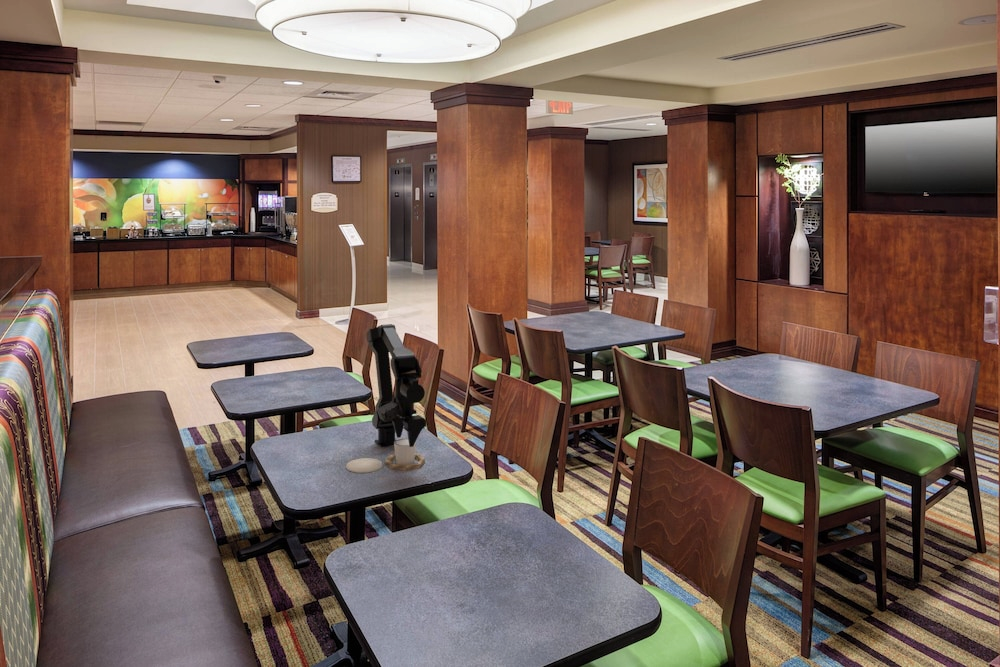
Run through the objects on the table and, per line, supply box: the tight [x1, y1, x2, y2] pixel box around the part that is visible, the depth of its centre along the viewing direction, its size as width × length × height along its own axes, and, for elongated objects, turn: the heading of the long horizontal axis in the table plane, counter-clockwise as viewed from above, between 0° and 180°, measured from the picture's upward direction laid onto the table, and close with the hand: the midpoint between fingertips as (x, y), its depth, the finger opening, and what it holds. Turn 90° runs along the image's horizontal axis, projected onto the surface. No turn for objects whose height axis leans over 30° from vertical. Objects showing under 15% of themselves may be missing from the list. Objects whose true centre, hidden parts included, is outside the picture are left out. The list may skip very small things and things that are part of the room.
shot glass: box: [393, 438, 417, 465], centre depth 224 cm, size 7×7×7 cm
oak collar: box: [385, 452, 426, 472], centre depth 225 cm, size 11×11×1 cm
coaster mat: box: [345, 457, 383, 474], centre depth 222 cm, size 11×11×1 cm
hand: (404, 442), depth 224 cm, fingers open, 9 cm apart
